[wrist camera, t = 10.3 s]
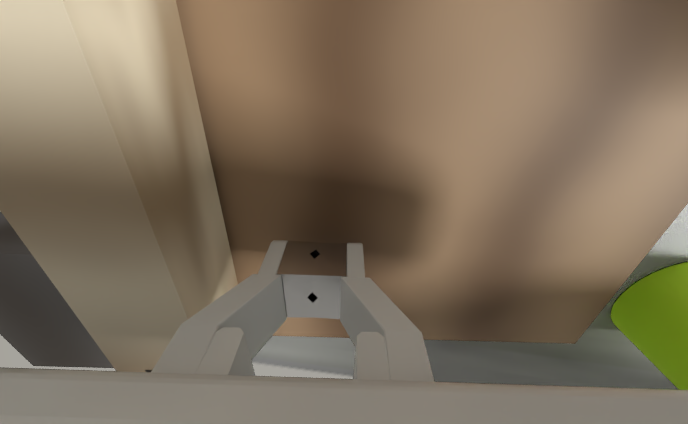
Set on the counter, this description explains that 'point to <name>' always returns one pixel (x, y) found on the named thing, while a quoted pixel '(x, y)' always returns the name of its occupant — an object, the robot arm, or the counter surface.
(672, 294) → the soap dispenser
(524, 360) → the counter surface
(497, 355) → the counter surface
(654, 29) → the wooden tray
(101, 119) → the folding leg
